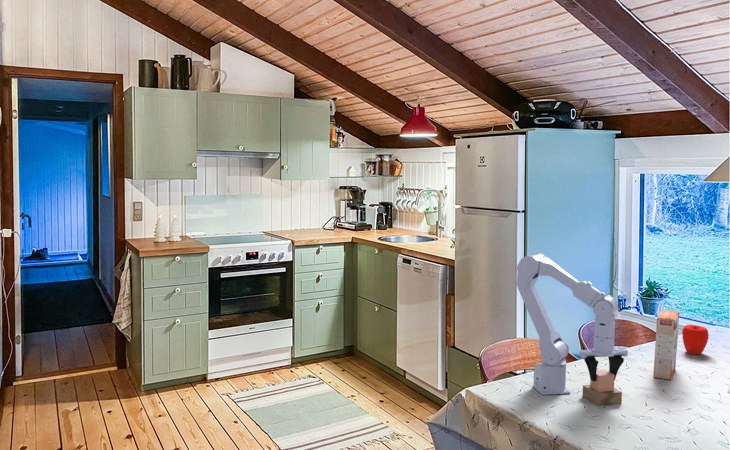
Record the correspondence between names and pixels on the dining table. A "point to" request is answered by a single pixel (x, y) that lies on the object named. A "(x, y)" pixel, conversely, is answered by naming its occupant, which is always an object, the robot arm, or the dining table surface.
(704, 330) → the apple
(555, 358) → the robot arm
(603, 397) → the walnut base
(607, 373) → the terracotta block
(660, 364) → the cracker box
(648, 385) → the dining table surface
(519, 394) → the dining table surface
